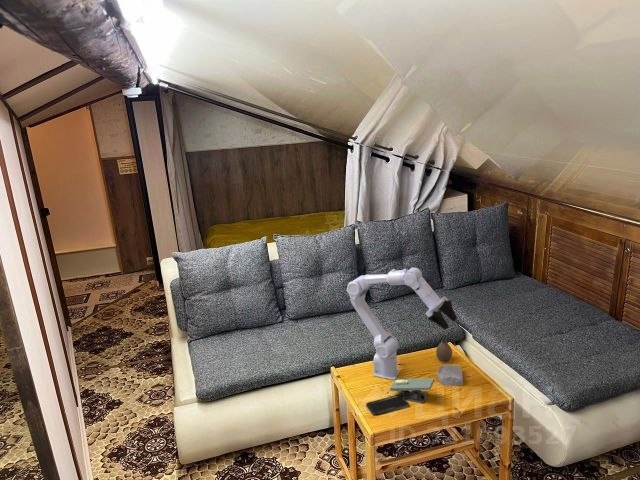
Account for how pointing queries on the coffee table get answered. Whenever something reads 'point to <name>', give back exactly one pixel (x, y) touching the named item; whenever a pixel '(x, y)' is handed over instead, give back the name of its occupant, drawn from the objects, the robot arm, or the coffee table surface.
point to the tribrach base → (413, 395)
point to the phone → (386, 405)
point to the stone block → (450, 375)
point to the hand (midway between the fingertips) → (451, 324)
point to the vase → (444, 352)
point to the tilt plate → (412, 384)
